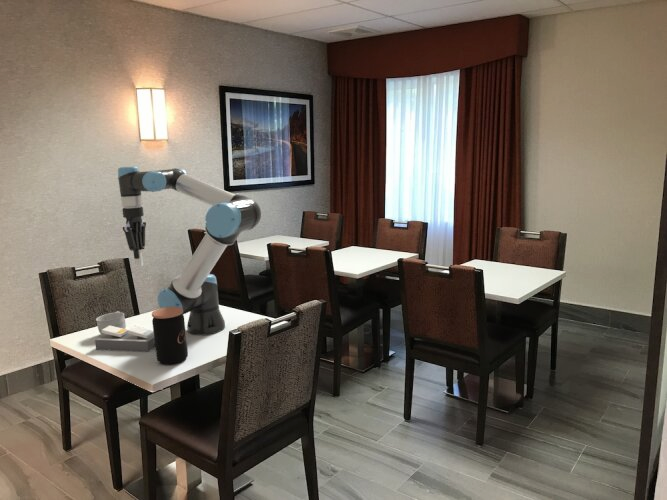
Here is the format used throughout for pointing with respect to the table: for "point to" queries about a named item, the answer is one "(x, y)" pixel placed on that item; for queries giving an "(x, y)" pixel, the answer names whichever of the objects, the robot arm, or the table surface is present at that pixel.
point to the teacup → (111, 321)
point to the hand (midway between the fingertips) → (139, 266)
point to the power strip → (125, 343)
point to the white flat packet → (140, 332)
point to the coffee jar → (169, 335)
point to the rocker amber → (115, 331)
